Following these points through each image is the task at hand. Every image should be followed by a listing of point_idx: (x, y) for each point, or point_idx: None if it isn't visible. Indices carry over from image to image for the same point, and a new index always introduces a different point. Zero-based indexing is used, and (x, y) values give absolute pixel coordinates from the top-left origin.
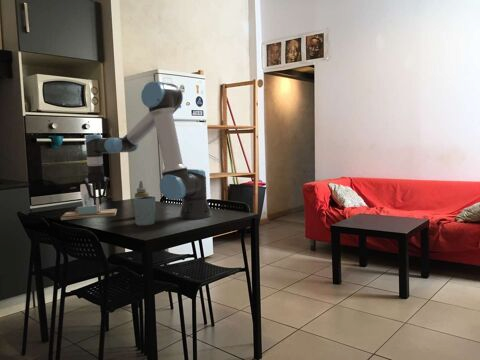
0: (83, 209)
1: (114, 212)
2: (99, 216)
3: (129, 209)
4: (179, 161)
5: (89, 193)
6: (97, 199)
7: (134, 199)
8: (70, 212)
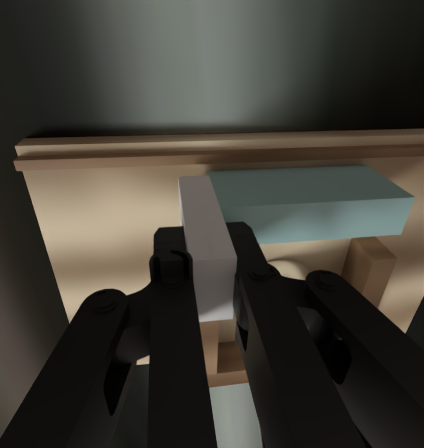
0: (345, 189)
1: (17, 162)
2: (176, 136)
3: (5, 388)
4: None
5: (375, 326)
6: (208, 252)
7: None
8: None
